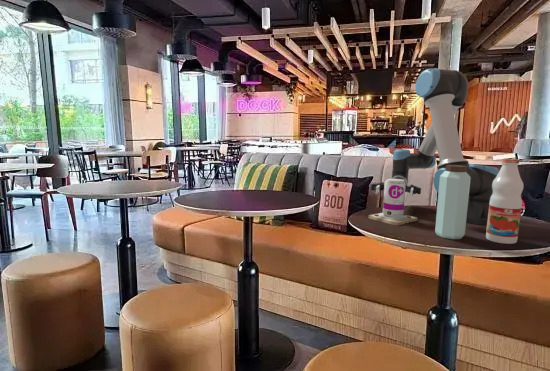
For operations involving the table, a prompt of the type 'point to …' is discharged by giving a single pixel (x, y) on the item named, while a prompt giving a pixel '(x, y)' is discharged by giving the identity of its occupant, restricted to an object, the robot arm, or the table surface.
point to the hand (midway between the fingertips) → (393, 191)
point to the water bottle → (452, 202)
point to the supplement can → (394, 197)
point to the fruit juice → (505, 204)
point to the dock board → (392, 219)
